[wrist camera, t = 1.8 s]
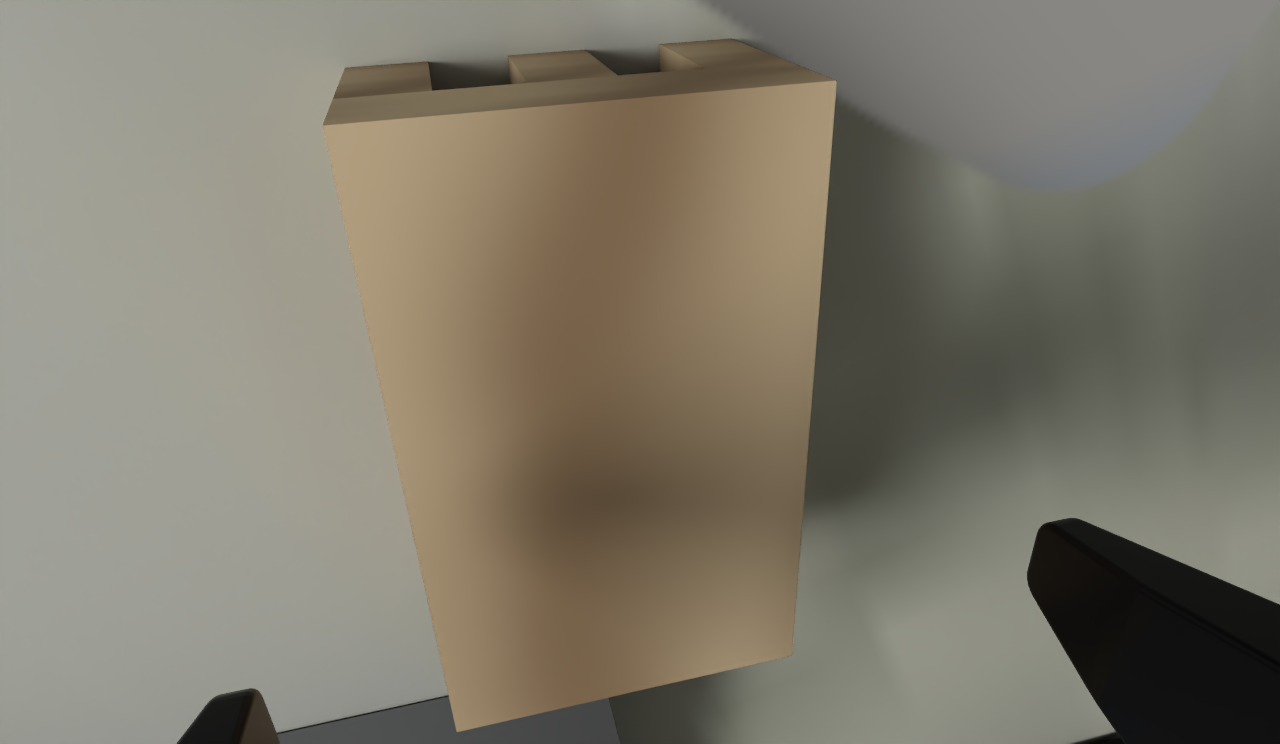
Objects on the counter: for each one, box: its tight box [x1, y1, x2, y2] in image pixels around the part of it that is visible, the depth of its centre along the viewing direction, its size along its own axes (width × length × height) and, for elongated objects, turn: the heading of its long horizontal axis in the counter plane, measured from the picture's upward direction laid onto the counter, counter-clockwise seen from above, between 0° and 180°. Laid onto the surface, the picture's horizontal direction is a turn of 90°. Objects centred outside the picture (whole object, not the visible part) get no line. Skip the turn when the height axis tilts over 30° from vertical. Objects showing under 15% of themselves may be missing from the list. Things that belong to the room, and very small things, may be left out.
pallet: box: [323, 39, 837, 732], centre depth 14 cm, size 6×10×4 cm, turn 2°
